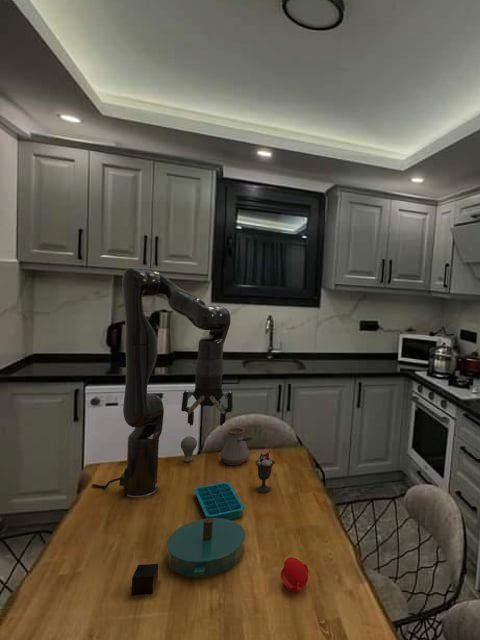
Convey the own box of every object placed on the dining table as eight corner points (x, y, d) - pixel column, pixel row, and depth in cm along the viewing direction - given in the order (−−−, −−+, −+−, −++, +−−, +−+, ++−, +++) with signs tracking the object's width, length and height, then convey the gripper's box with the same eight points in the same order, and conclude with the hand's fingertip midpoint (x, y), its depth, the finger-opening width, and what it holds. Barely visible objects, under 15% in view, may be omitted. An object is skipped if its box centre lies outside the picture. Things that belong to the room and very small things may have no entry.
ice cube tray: (228, 489, 152) (228, 481, 152) (245, 518, 135) (245, 508, 135) (193, 496, 145) (193, 487, 145) (206, 527, 129) (206, 517, 129)
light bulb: (199, 460, 174) (200, 436, 173) (188, 465, 168) (189, 440, 167) (187, 457, 175) (188, 433, 175) (176, 462, 170) (177, 437, 169)
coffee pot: (215, 458, 176) (217, 423, 175) (242, 453, 183) (244, 419, 182) (234, 479, 160) (237, 440, 158) (264, 473, 167) (266, 435, 166)
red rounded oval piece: (313, 587, 107) (315, 564, 107) (294, 599, 103) (296, 575, 102) (294, 571, 113) (295, 549, 112) (275, 581, 108) (276, 559, 108)
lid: (158, 568, 104) (159, 544, 104) (176, 523, 123) (177, 502, 123) (242, 562, 109) (243, 540, 108) (247, 520, 128) (248, 500, 127)
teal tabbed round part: (156, 589, 102) (157, 571, 102) (178, 531, 126) (179, 516, 125) (238, 583, 107) (239, 566, 106) (245, 528, 130) (245, 514, 130)
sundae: (270, 494, 151) (273, 453, 150) (251, 492, 151) (253, 451, 150) (275, 485, 158) (277, 446, 156) (256, 484, 158) (259, 444, 156)
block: (131, 597, 99) (131, 577, 99) (137, 584, 103) (138, 564, 103) (152, 596, 100) (153, 576, 100) (157, 582, 105) (158, 563, 104)
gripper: (235, 370, 134) (232, 421, 135) (186, 368, 131) (183, 420, 132) (233, 376, 127) (229, 429, 128) (181, 374, 124) (178, 429, 125)
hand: (206, 424), depth 130 cm, fingers open, 8 cm apart
